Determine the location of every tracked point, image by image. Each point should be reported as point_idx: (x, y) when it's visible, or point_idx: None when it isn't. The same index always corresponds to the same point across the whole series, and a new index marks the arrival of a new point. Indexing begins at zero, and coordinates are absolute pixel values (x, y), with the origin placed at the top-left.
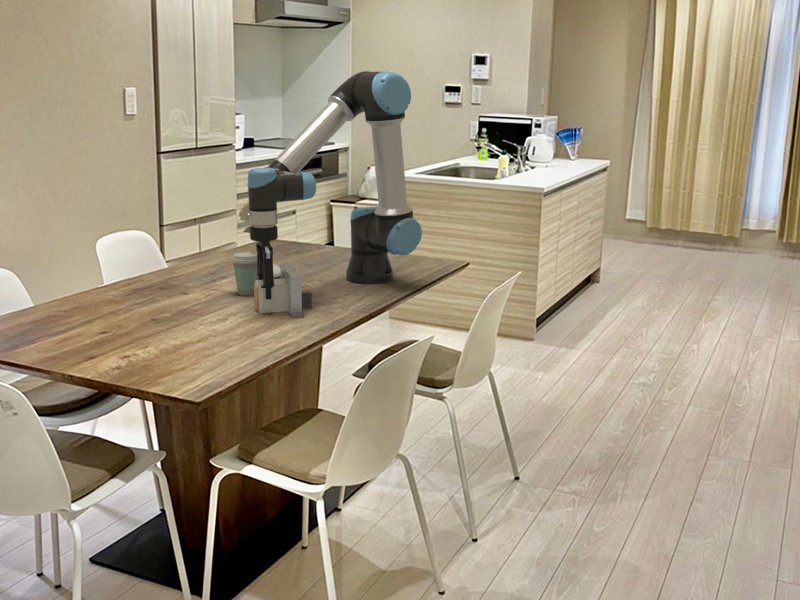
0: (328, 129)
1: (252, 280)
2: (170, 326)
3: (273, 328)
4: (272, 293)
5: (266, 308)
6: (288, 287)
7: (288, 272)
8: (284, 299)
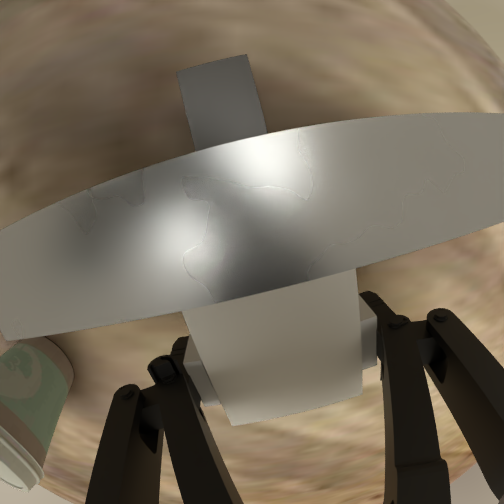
0: None
1: (40, 384)
2: (382, 457)
3: (484, 240)
4: (360, 299)
5: None
6: None
7: (423, 234)
8: None
